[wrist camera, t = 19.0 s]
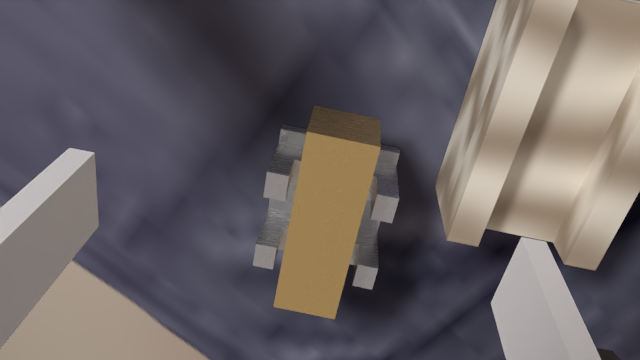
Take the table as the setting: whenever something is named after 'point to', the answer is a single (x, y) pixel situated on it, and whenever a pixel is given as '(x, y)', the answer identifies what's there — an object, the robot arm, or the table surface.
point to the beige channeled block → (548, 128)
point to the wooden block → (327, 210)
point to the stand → (282, 196)
